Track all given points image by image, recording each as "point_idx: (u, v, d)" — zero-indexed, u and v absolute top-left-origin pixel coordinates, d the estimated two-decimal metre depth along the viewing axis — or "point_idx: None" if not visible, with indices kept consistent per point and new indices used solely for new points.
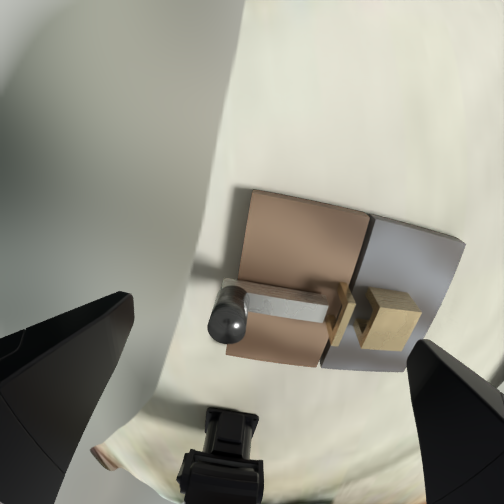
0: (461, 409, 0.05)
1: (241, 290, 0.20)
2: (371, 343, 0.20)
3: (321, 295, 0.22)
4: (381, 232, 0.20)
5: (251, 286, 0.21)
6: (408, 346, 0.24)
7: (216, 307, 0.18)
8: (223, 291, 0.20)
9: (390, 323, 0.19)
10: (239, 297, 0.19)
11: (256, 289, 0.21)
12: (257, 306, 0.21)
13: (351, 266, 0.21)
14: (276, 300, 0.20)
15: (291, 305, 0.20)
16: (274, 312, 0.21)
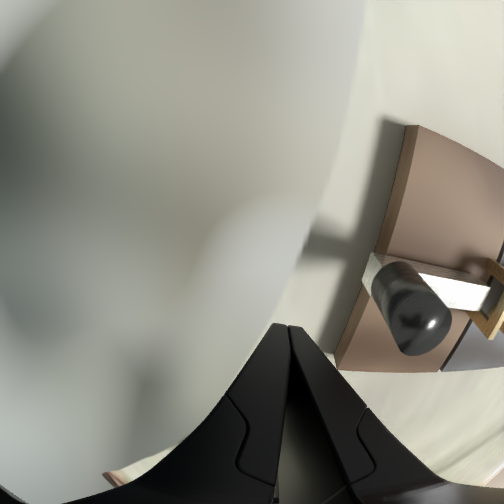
0: (300, 417, 0.05)
1: (413, 268, 0.11)
2: None
3: (475, 276, 0.13)
4: None
5: (411, 264, 0.12)
6: None
7: (405, 295, 0.09)
8: (393, 270, 0.11)
9: None
10: (422, 278, 0.10)
11: (419, 268, 0.12)
12: None
13: (501, 238, 0.12)
14: (445, 282, 0.12)
15: (458, 289, 0.12)
16: None
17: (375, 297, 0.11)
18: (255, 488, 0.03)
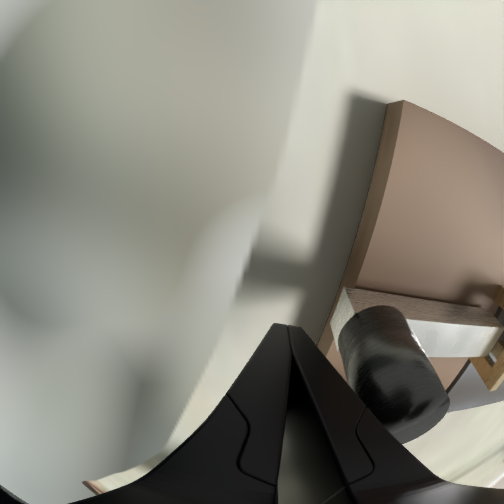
0: (299, 418, 0.05)
1: (402, 316, 0.08)
2: None
3: (486, 311, 0.09)
4: None
5: (401, 304, 0.09)
6: None
7: (380, 371, 0.06)
8: (370, 322, 0.07)
9: None
10: (412, 334, 0.07)
11: (412, 309, 0.09)
12: None
13: None
14: (447, 328, 0.08)
15: (464, 334, 0.08)
16: (435, 351, 0.09)
17: (341, 357, 0.08)
18: (256, 488, 0.03)
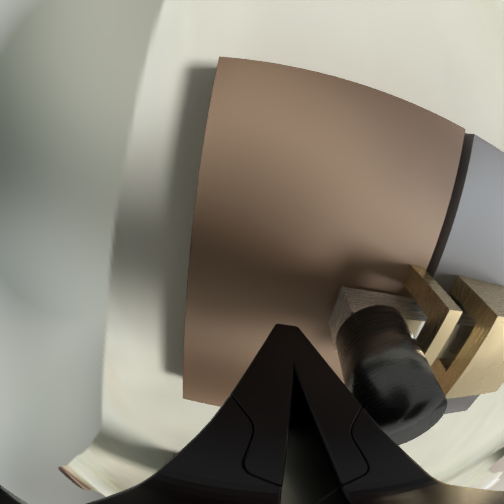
0: (295, 417, 0.05)
1: (400, 315, 0.08)
2: (462, 387, 0.08)
3: None
4: (483, 163, 0.07)
5: (399, 304, 0.09)
6: None
7: (376, 371, 0.06)
8: (367, 321, 0.07)
9: (500, 347, 0.07)
10: (410, 334, 0.07)
11: (410, 309, 0.09)
12: None
13: (434, 231, 0.09)
14: None
15: (463, 335, 0.08)
16: None
17: (339, 357, 0.08)
18: (262, 488, 0.03)
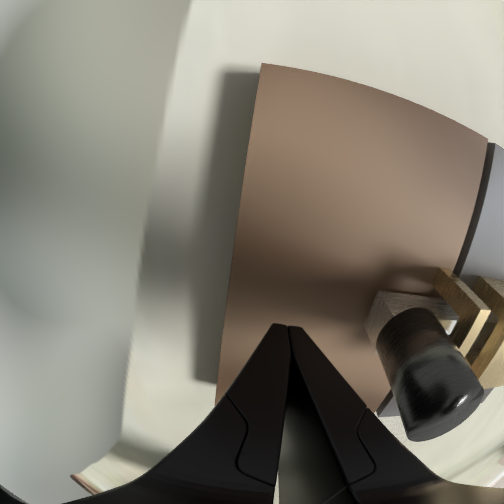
0: (300, 417, 0.05)
1: (435, 316, 0.08)
2: (485, 380, 0.08)
3: None
4: (503, 171, 0.07)
5: (430, 305, 0.09)
6: None
7: (424, 369, 0.06)
8: (409, 323, 0.07)
9: None
10: (447, 334, 0.07)
11: (440, 309, 0.09)
12: None
13: (460, 235, 0.09)
14: None
15: (486, 331, 0.08)
16: None
17: (381, 358, 0.08)
18: (255, 487, 0.03)
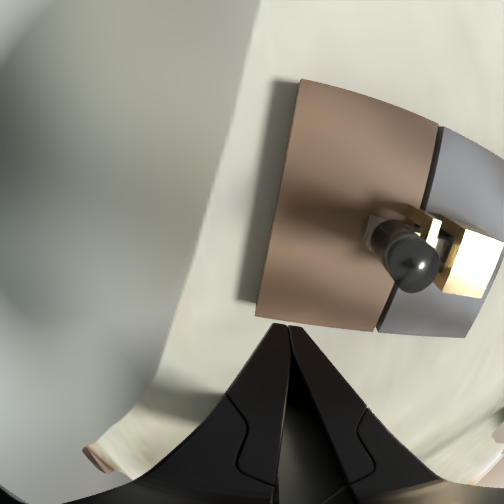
0: (300, 418, 0.05)
1: (405, 225, 0.13)
2: (453, 284, 0.14)
3: None
4: (451, 144, 0.13)
5: None
6: (474, 302, 0.18)
7: (398, 240, 0.12)
8: (388, 224, 0.13)
9: (474, 255, 0.13)
10: (412, 231, 0.13)
11: (411, 228, 0.15)
12: None
13: (422, 184, 0.15)
14: (435, 241, 0.14)
15: (447, 248, 0.14)
16: None
17: (374, 248, 0.14)
18: (255, 488, 0.03)
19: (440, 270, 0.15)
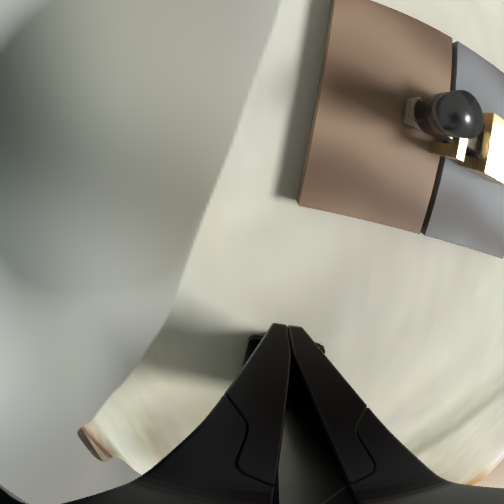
0: (300, 418, 0.05)
1: None
2: (493, 166, 0.12)
3: None
4: (465, 55, 0.11)
5: None
6: None
7: (442, 93, 0.10)
8: (428, 95, 0.11)
9: None
10: None
11: None
12: None
13: (447, 82, 0.13)
14: None
15: (480, 135, 0.12)
16: (467, 141, 0.12)
17: (420, 114, 0.12)
18: (255, 488, 0.03)
19: None
